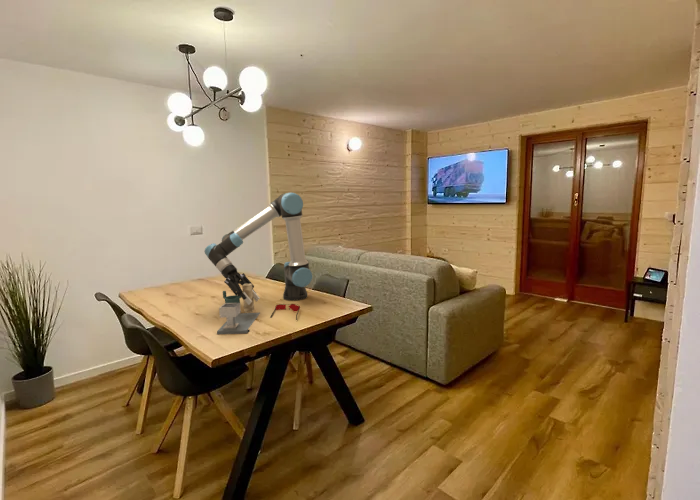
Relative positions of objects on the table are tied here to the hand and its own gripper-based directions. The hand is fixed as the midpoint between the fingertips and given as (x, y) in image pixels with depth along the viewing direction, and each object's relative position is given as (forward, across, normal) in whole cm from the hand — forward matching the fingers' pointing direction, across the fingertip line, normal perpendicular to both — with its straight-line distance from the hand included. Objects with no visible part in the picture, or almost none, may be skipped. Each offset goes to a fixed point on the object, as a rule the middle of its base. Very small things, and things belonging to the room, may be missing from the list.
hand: (254, 301), depth 184 cm
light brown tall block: (+1, 0, -6) cm, 7 cm away
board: (+5, +8, -9) cm, 13 cm away
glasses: (+16, -10, +1) cm, 19 cm away
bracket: (-14, -16, -28) cm, 35 cm away
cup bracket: (+5, +16, -7) cm, 18 cm away
